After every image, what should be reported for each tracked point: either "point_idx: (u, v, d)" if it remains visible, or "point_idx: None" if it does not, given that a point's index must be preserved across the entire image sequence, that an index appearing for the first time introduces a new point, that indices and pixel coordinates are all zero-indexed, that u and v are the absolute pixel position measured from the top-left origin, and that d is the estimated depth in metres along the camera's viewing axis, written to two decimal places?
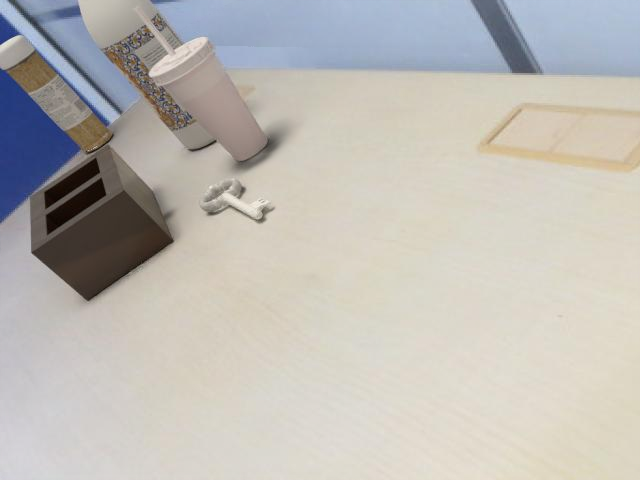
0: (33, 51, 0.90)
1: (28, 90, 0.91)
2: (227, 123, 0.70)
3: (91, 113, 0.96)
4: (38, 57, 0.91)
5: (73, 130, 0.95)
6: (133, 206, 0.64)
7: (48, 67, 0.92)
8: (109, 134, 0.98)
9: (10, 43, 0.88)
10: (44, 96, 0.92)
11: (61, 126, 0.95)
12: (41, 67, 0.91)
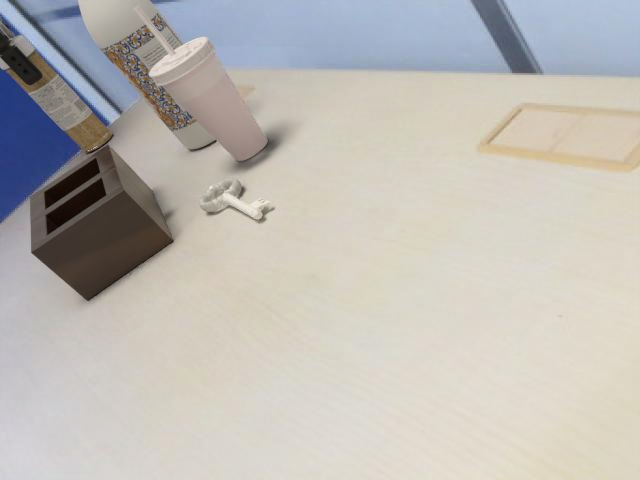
0: (33, 51, 0.90)
1: (28, 90, 0.91)
2: (227, 123, 0.70)
3: (91, 113, 0.96)
4: (38, 57, 0.91)
5: (73, 130, 0.95)
6: (133, 206, 0.64)
7: (48, 67, 0.92)
8: (109, 134, 0.98)
9: None
10: (44, 96, 0.92)
11: (61, 126, 0.95)
12: (41, 67, 0.91)
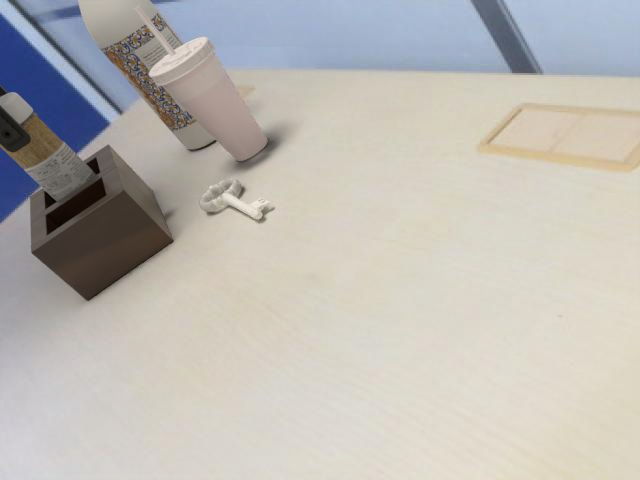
0: (31, 114, 0.66)
1: (25, 165, 0.67)
2: (227, 123, 0.70)
3: None
4: (38, 121, 0.67)
5: None
6: (133, 206, 0.64)
7: (51, 134, 0.68)
8: None
9: None
10: (45, 174, 0.68)
11: None
12: (42, 135, 0.67)
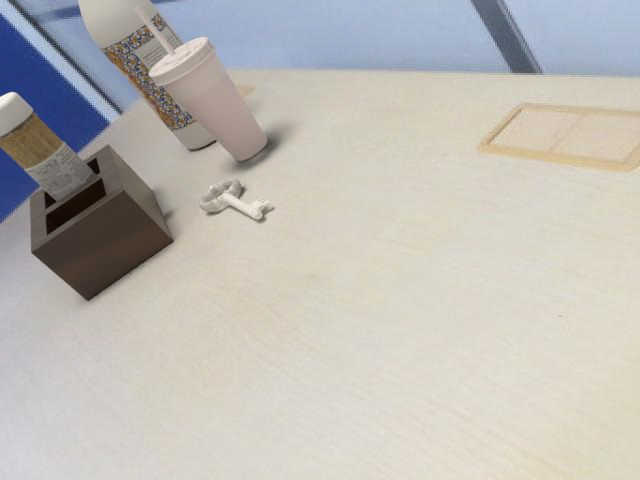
0: (31, 114, 0.66)
1: (25, 165, 0.67)
2: (227, 123, 0.70)
3: None
4: (38, 121, 0.67)
5: None
6: (133, 206, 0.64)
7: (51, 134, 0.68)
8: None
9: None
10: (45, 173, 0.68)
11: None
12: (42, 135, 0.67)
